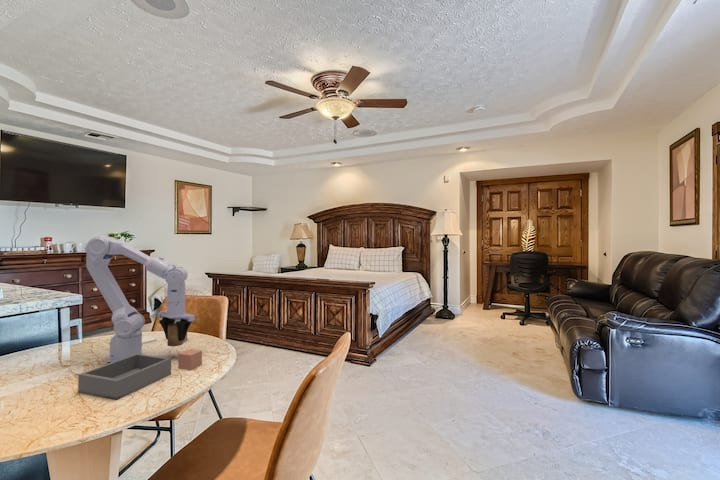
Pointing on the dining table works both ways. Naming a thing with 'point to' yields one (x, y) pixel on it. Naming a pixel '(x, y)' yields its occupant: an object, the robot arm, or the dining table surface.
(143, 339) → the external hard drive
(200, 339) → the dining table surface
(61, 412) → the dining table surface
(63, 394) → the dining table surface
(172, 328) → the walnut cylinder
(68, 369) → the dining table surface
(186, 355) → the cube
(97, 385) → the tote
